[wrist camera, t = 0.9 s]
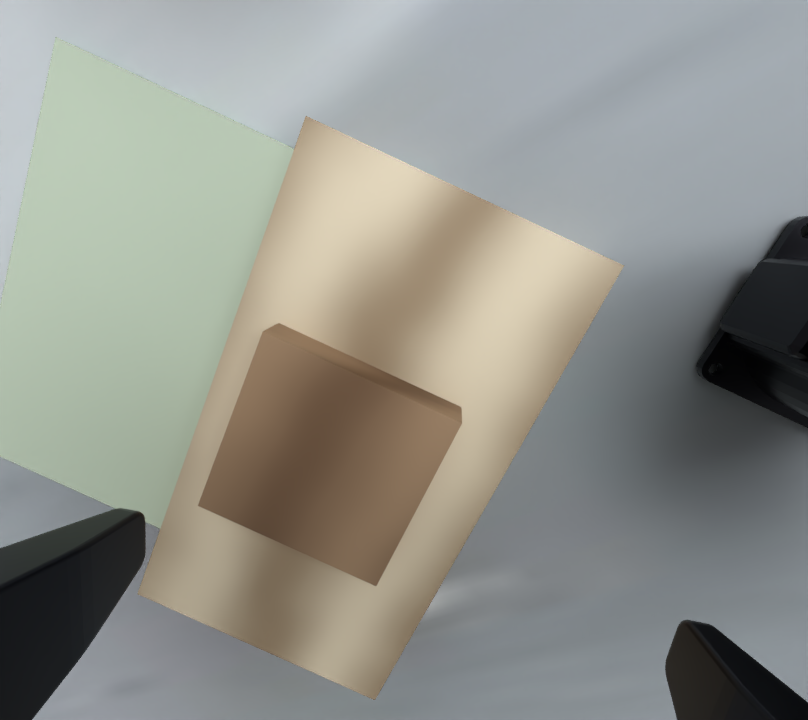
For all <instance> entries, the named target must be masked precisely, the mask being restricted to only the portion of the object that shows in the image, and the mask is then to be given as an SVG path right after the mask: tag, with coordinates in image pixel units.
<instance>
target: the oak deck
mask: <svg viewBox="0 0 808 720" xmlns="http://www.w3.org/2000/svg"><path fill="white" fill-rule="evenodd" d="M623 267H624V265H621V264H619V263H617V262H615V261H613V260H611V259H609V258H607V257H604V256H602V255H600V254H598V253H596V252H594V251H592V250H590V249H587V248H585V247H583V246H581V245H579V244H577V243H575V242H573V241H571V240H568V239H566V238H564V237H562V236H560V235H558V234H556V233H554V232H551V231H549V230H547V229H545V228H543V227H541V226H539V225H537V224H534V223H532V222H530V221H528V220H526V219H524V218H522V217H520V216H517V215H515V214H513V213H511V212H509V211H507V210H505V209H503V208H500V207H498V206H496V205H494V204H492V203H490V202H488V201H486V200H483V199H481V198H479V197H477V196H475V195H473V194H471V193H469V192H466V191H464V190H462V189H460V188H458V187H456V186H454V185H452V184H449V183H447V182H445V181H443V180H441V179H439V178H437V177H435V176H432V175H430V174H428V173H426V172H424V171H422V170H420V169H418V168H415V167H413V166H411V165H409V164H407V163H405V162H403V161H401V160H398V159H396V158H394V157H392V156H390V155H388V154H386V153H384V152H381V151H379V150H377V149H375V148H373V147H371V146H369V145H367V144H364V143H362V142H360V141H358V140H356V139H354V138H352V137H350V136H347V135H345V134H343V133H341V132H339V131H337V130H335V129H333V128H330V127H328V126H326V125H324V124H322V123H320V122H318V121H316V120H313V119H311V118H309V117H307V116H306V117H305V120H304V123H303V126H302V128H301V131H300V134H299V137H298V140H297V143H296V146H295V148H294V151H293V154H292V157H291V160H290V163H289V165H288V168H287V171H286V174H285V177H284V180H283V182H282V185H281V188H280V191H279V194H278V197H277V199H276V202H275V205H274V208H273V211H272V214H271V216H270V219H269V222H268V225H267V228H266V231H265V233H264V236H263V239H262V242H261V245H260V248H259V250H258V253H257V256H256V259H255V262H254V265H253V268H252V270H251V273H250V276H249V279H248V282H247V285H246V287H245V290H244V293H243V296H242V299H241V302H240V304H239V307H238V310H237V313H236V316H235V319H234V321H233V324H232V327H231V330H230V333H229V336H228V338H227V341H226V344H225V347H224V350H223V353H222V355H221V358H220V361H219V364H218V367H217V370H216V372H215V375H214V378H213V381H212V384H211V387H210V390H209V392H208V395H207V398H206V401H205V404H204V407H203V409H202V412H201V415H200V418H199V421H198V424H197V426H196V429H195V432H194V435H193V438H192V441H191V443H190V446H189V449H188V452H187V455H186V458H185V460H184V463H183V466H182V469H181V472H180V475H179V477H178V480H177V483H176V486H175V489H174V492H173V494H172V497H171V500H170V503H169V506H168V509H167V512H166V514H165V517H164V520H163V523H162V526H161V529H160V531H159V534H158V537H157V540H156V543H155V546H154V548H153V551H152V554H151V557H150V560H149V563H148V565H147V568H146V571H145V574H144V577H143V580H142V582H141V585H140V588H139V591H138V595H141V596H143V597H145V598H147V599H150V600H152V601H154V602H156V603H159V604H161V605H163V606H165V607H168V608H170V609H172V610H174V611H176V612H179V613H181V614H183V615H185V616H188V617H190V618H192V619H194V620H197V621H199V622H201V623H203V624H206V625H208V626H210V627H212V628H214V629H217V630H219V631H221V632H223V633H226V634H228V635H230V636H232V637H235V638H237V639H239V640H241V641H244V642H246V643H248V644H250V645H253V646H255V647H257V648H259V649H261V650H264V651H266V652H268V653H270V654H273V655H275V656H277V657H279V658H282V659H284V660H286V661H288V662H291V663H293V664H295V665H297V666H300V667H302V668H304V669H306V670H308V671H311V672H313V673H315V674H317V675H320V676H322V677H324V678H326V679H329V680H331V681H333V682H335V683H338V684H340V685H342V686H344V687H347V688H349V689H351V690H353V691H355V692H358V693H360V694H362V695H364V696H367V697H369V698H371V699H373V700H375V699H376V697H377V696H378V694H379V692H380V690H381V689H382V687H383V685H384V683H385V682H386V680H387V678H388V676H389V675H390V673H391V671H392V669H393V668H394V666H395V664H396V662H397V661H398V659H399V657H400V655H401V654H402V652H403V650H404V648H405V647H406V645H407V643H408V642H409V640H410V638H411V636H412V635H413V633H414V631H415V629H416V628H417V626H418V624H419V622H420V621H421V619H422V617H423V615H424V614H425V612H426V610H427V608H428V607H429V605H430V603H431V601H432V600H433V598H434V596H435V594H436V593H437V591H438V589H439V587H440V586H441V584H442V582H443V580H444V579H445V577H446V575H447V574H448V572H449V570H450V568H451V567H452V565H453V563H454V561H455V560H456V558H457V556H458V554H459V553H460V551H461V549H462V547H463V546H464V544H465V542H466V540H467V539H468V537H469V535H470V533H471V532H472V530H473V528H474V526H475V525H476V523H477V521H478V519H479V518H480V516H481V514H482V513H483V511H484V509H485V507H486V506H487V504H488V502H489V500H490V499H491V497H492V495H493V493H494V492H495V490H496V488H497V486H498V485H499V483H500V481H501V479H502V478H503V476H504V474H505V472H506V471H507V469H508V467H509V465H510V464H511V462H512V460H513V458H514V457H515V455H516V453H517V451H518V450H519V448H520V446H521V445H522V443H523V441H524V439H525V438H526V436H527V434H528V432H529V431H530V429H531V427H532V425H533V424H534V422H535V420H536V418H537V417H538V415H539V413H540V411H541V410H542V408H543V406H544V404H545V403H546V401H547V399H548V397H549V396H550V394H551V392H552V390H553V389H554V387H555V385H556V384H557V382H558V380H559V378H560V377H561V375H562V373H563V371H564V370H565V368H566V366H567V364H568V363H569V361H570V359H571V357H572V356H573V354H574V352H575V350H576V349H577V347H578V345H579V343H580V342H581V340H582V338H583V336H584V335H585V333H586V331H587V329H588V328H589V326H590V324H591V322H592V321H593V319H594V317H595V316H596V314H597V312H598V310H599V309H600V307H601V305H602V303H603V302H604V300H605V298H606V296H607V295H608V293H609V291H610V289H611V288H612V286H613V284H614V282H615V281H616V279H617V277H618V275H619V274H620V272H621V270H622V268H623ZM278 323H280V324H282V325H285V326H287V327H289V328H291V329H293V330H295V331H298V332H300V333H302V334H304V335H306V336H308V337H311V338H313V339H315V340H317V341H319V342H321V343H324V344H326V345H328V346H330V347H332V348H334V349H337V350H339V351H341V352H343V353H345V354H347V355H350V356H352V357H354V358H356V359H358V360H360V361H363V362H365V363H367V364H369V365H371V366H373V367H376V368H378V369H380V370H382V371H384V372H386V373H389V374H391V375H393V376H395V377H397V378H399V379H402V380H404V381H406V382H408V383H410V384H412V385H415V386H417V387H419V388H421V389H423V390H425V391H428V392H430V393H432V394H434V395H436V396H438V397H441V398H443V399H445V400H447V401H449V402H451V403H454V404H456V405H458V406H460V407H461V409H462V425H461V426H460V428H459V430H458V432H457V434H456V436H455V438H454V440H453V442H452V444H451V445H450V447H449V449H448V451H447V453H446V455H445V457H444V459H443V461H442V463H441V464H440V466H439V468H438V470H437V472H436V474H435V476H434V478H433V480H432V482H431V483H430V485H429V487H428V489H427V491H426V493H425V495H424V497H423V499H422V501H421V502H420V504H419V506H418V508H417V510H416V512H415V514H414V516H413V518H412V520H411V521H410V523H409V525H408V527H407V529H406V531H405V533H404V535H403V537H402V538H401V540H400V542H399V544H398V546H397V548H396V550H395V552H394V554H393V556H392V557H391V559H390V561H389V563H388V565H387V567H386V569H385V571H384V573H383V575H382V576H381V578H380V580H379V582H378V584H377V586H374V585H372V584H370V583H367V582H365V581H363V580H361V579H359V578H356V577H354V576H352V575H350V574H348V573H345V572H343V571H341V570H339V569H337V568H334V567H332V566H330V565H328V564H325V563H323V562H321V561H319V560H317V559H314V558H312V557H310V556H308V555H306V554H303V553H301V552H299V551H297V550H294V549H292V548H290V547H288V546H286V545H283V544H281V543H279V542H277V541H275V540H272V539H270V538H268V537H266V536H263V535H261V534H259V533H257V532H255V531H252V530H250V529H248V528H246V527H244V526H241V525H239V524H237V523H235V522H232V521H230V520H228V519H226V518H224V517H221V516H219V515H217V514H215V513H213V512H210V511H208V510H206V509H204V508H202V507H199V506H198V504H199V501H200V498H201V496H202V493H203V490H204V488H205V485H206V482H207V480H208V477H209V474H210V471H211V469H212V466H213V463H214V461H215V458H216V455H217V453H218V450H219V447H220V445H221V442H222V439H223V437H224V434H225V431H226V429H227V426H228V423H229V420H230V418H231V415H232V412H233V410H234V407H235V404H236V402H237V399H238V396H239V394H240V391H241V388H242V386H243V383H244V380H245V378H246V375H247V372H248V370H249V367H250V364H251V361H252V359H253V356H254V353H255V351H256V348H257V345H258V343H259V340H260V337H261V335H262V332H263V331H264V330H266V329H268V328H270V327H272V326H274V325H276V324H278Z"/></svg>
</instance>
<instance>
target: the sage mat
mask: <svg viewBox="0 0 808 720" xmlns="http://www.w3.org/2000/svg"><path fill="white" fill-rule="evenodd" d="M293 151H294V149H293V148H291V147H289V146H287V145H285V144H283V143H281V142H278V141H276V140H274V139H272V138H270V137H268V136H266V135H264V134H261V133H259V132H257V131H255V130H253V129H251V128H249V127H246V126H244V125H242V124H240V123H238V122H236V121H234V120H232V119H229V118H227V117H225V116H223V115H221V114H219V113H217V112H214V111H212V110H210V109H208V108H206V107H204V106H202V105H200V104H197V103H195V102H193V101H191V100H189V99H187V98H185V97H183V96H180V95H178V94H176V93H174V92H172V91H170V90H168V89H165V88H163V87H161V86H159V85H157V84H155V83H153V82H151V81H148V80H146V79H144V78H142V77H140V76H138V75H136V74H133V73H131V72H129V71H127V70H125V69H123V68H121V67H119V66H116V65H114V64H112V63H110V62H108V61H106V60H104V59H102V58H99V57H97V56H95V55H93V54H91V53H89V52H87V51H84V50H82V49H80V48H78V47H76V46H74V45H72V44H70V43H67V42H65V41H63V40H61V39H59V38H57V37H56V38H55V42H54V47H53V52H52V57H51V62H50V67H49V71H48V76H47V81H46V86H45V91H44V96H43V101H42V105H41V110H40V115H39V120H38V125H37V130H36V134H35V139H34V144H33V149H32V154H31V159H30V163H29V168H28V173H27V178H26V183H25V188H24V193H23V197H22V202H21V207H20V212H19V217H18V222H17V226H16V231H15V236H14V241H13V246H12V251H11V255H10V260H9V265H8V270H7V275H6V280H5V285H4V289H3V294H2V299H1V304H0V457H2V458H4V459H6V460H9V461H11V462H13V463H15V464H17V465H20V466H22V467H24V468H26V469H29V470H31V471H33V472H35V473H37V474H40V475H42V476H44V477H46V478H49V479H51V480H53V481H55V482H57V483H60V484H62V485H64V486H66V487H69V488H71V489H73V490H75V491H77V492H80V493H82V494H84V495H86V496H89V497H91V498H93V499H95V500H97V501H100V502H102V503H104V504H106V505H109V506H111V507H113V508H115V509H117V508H125V509H130V510H135V511H140V512H141V513H143V515H144V517H145V522H146V523H149V524H151V525H153V526H155V527H157V528H160V529H161V526H162V523H163V520H164V517H165V514H166V512H167V509H168V506H169V503H170V500H171V497H172V494H173V492H174V489H175V486H176V483H177V480H178V477H179V475H180V472H181V469H182V466H183V463H184V460H185V458H186V455H187V452H188V449H189V446H190V443H191V441H192V438H193V435H194V432H195V429H196V426H197V424H198V421H199V418H200V415H201V412H202V409H203V407H204V404H205V401H206V398H207V395H208V392H209V390H210V387H211V384H212V381H213V378H214V375H215V372H216V370H217V367H218V364H219V361H220V358H221V355H222V353H223V350H224V347H225V344H226V341H227V338H228V336H229V333H230V330H231V327H232V324H233V321H234V319H235V316H236V313H237V310H238V307H239V304H240V302H241V299H242V296H243V293H244V290H245V287H246V285H247V282H248V279H249V276H250V273H251V270H252V268H253V265H254V262H255V259H256V256H257V253H258V250H259V248H260V245H261V242H262V239H263V236H264V233H265V231H266V228H267V225H268V222H269V219H270V216H271V214H272V211H273V208H274V205H275V202H276V199H277V197H278V194H279V191H280V188H281V185H282V182H283V180H284V177H285V174H286V171H287V168H288V165H289V163H290V160H291V157H292V154H293Z"/></svg>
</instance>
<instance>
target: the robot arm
mask: <svg viewBox="0 0 808 720" xmlns="http://www.w3.org/2000/svg"><path fill="white" fill-rule="evenodd" d="M804 225H807V226H808V216H803V217H798V218H796V219H794V220H792V221H791V222H790V223H789V224H788V226H787V227H786V229H785V230H784V232H783V233H782V235H781V236H780V238H779V240H778V241H777V243H776V244H775V246H774V247H773V249H772V250H771V252H770V253H769V255H768V256H767V258H766V259H765V260H763V261H761V262H759V263H758V264H757V266H756V268H755V269H754V271H753V272H752V274H751V275H750V277H749V278H748V280H747V281H746V283H745V284H744V286H743V287H742V289H741V291H740V292H739V294H738V295H737V297H736V298H735V300H734V301H733V303H732V304H731V306H730V307H729V309H728V310H727V312H726V314H725V315H724V317H723V318H722V320H721V322H720V323H721V328H720V330H719V331H718V333H717V334H716V336H715V337H714V339H713V340H712V342H711V343H710V345H709V346H708V348H707V349H706V351H705V352H704V354H703V355H702V357H701V359H700V360H699V362H698V364H697V372H698V374H699V376H701V377H702V378H704V379H705V380H707V381H709V382H711V383H713V384H715V385H717V386H720V387H722V388H724V389H726V390H728V391H730V392H732V393H735V394H737V395H739V396H741V397H743V398H745V399H747V400H750V401H752V402H754V403H756V404H758V405H760V406H762V407H765V408H767V409H769V410H771V411H773V412H775V413H777V414H779V415H782V416H784V417H786V418H788V419H790V420H792V421H794V422H797V423H799V424H801V425H803V426H805V427H807V428H808V234H807V235H806V236H805V237H802V236H801V229H802V227H803V226H804ZM714 363H717V366H718V367H717V370H716V371H714V372H713V373H709V367H710V366H711V365H712V364H714ZM144 557H145V517H144V515H143V513H141V512H140V511H135V510H130V509H125V508H117V509H114V510H111V511H108V512H105V513H102V514H99V515H96V516H93V517H90V518H87V519H84V520H81V521H79V522H76V523H73V524H70V525H67V526H64V527H61V528H58V529H55V530H52V531H49V532H46V533H44V534H41V535H38V536H35V537H32V538H29V539H26V540H23V541H20V542H17V543H14V544H11V545H8V546H6V547H3V548H0V720H32V719H33V718H34V717H35V715H36V714H37V713H38V711H39V710H40V709H41V708H42V706H43V705H44V704H45V703H46V701H47V700H48V699H49V697H50V696H51V695H52V694H53V692H54V691H55V690H56V689H57V687H58V686H59V685H60V683H61V682H62V681H63V680H64V678H65V677H66V676H67V675H68V673H69V672H70V671H71V669H72V668H73V667H74V666H75V664H76V663H77V662H78V660H79V659H80V658H81V656H82V655H83V654H84V652H85V651H86V650H87V648H88V647H89V645H90V644H91V642H92V641H93V639H94V638H95V636H96V635H97V633H98V632H99V630H100V629H101V627H102V626H103V624H104V623H105V621H106V620H107V618H108V617H109V615H110V613H111V612H112V610H113V609H114V607H115V606H116V604H117V603H118V601H119V600H120V598H121V597H122V595H123V594H124V592H125V591H126V589H127V587H128V586H129V584H130V583H131V581H132V580H133V578H134V577H135V575H136V574H137V572H138V571H139V569H140V567H141V565H142V563H143V561H144ZM665 670H666V677H667V681H668V685H669V689H670V693H671V697H672V701H673V705H674V709H675V713H676V717H677V720H808V702H806V701H805V700H804V699H803V698H802V697H800V696H799V695H798V694H797V693H795V692H794V691H793V690H792V689H790V688H789V687H788V686H787V685H785V684H784V683H783V682H782V681H780V680H779V679H778V678H777V677H776V676H774V675H773V674H772V673H771V672H769V671H768V670H767V669H766V668H764V667H763V666H762V665H761V664H759V663H758V662H757V661H756V660H754V659H753V658H752V657H751V656H750V655H748V654H747V653H746V652H745V651H743V650H742V649H741V648H740V647H738V646H737V645H736V644H735V643H733V642H732V641H731V640H730V639H728V638H727V637H726V636H725V635H723V634H722V633H721V632H720V631H719V630H717V629H716V628H715V627H713V626H712V625H710V624H706V623H701V622H696V621H691V620H684V621H682V622H681V623H680V624H679V626H678V628H677V630H676V633H675V636H674V639H673V642H672V644H671V647H670V650H669V653H668V656H667V659H666V665H665Z"/></svg>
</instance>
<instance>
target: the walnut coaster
mask: <svg viewBox="0 0 808 720" xmlns="http://www.w3.org/2000/svg"><path fill="white" fill-rule="evenodd" d="M461 425H462V409H461V407H460V406H458V405H456V404H454V403H451V402H449V401H447V400H445V399H443V398H441V397H438V396H436V395H434V394H432V393H430V392H428V391H425V390H423V389H421V388H419V387H417V386H415V385H412V384H410V383H408V382H406V381H404V380H402V379H399V378H397V377H395V376H393V375H391V374H389V373H386V372H384V371H382V370H380V369H378V368H376V367H373V366H371V365H369V364H367V363H365V362H363V361H360V360H358V359H356V358H354V357H352V356H350V355H347V354H345V353H343V352H341V351H339V350H337V349H334V348H332V347H330V346H328V345H326V344H324V343H321V342H319V341H317V340H315V339H313V338H311V337H308V336H306V335H304V334H302V333H300V332H298V331H295V330H293V329H291V328H289V327H287V326H285V325H282V324H280V323H278V324H276V325H274V326H272V327H270V328H268V329H266V330H264V331H263V332H262V335H261V337H260V340H259V343H258V345H257V348H256V351H255V353H254V356H253V359H252V361H251V364H250V367H249V370H248V372H247V375H246V378H245V380H244V383H243V386H242V388H241V391H240V394H239V396H238V399H237V402H236V404H235V407H234V410H233V412H232V415H231V418H230V420H229V423H228V426H227V429H226V431H225V434H224V437H223V439H222V442H221V445H220V447H219V450H218V453H217V455H216V458H215V461H214V463H213V466H212V469H211V471H210V474H209V477H208V480H207V482H206V485H205V488H204V490H203V493H202V496H201V498H200V501H199V504H198V506H199V507H202V508H204V509H206V510H208V511H210V512H213V513H215V514H217V515H219V516H221V517H224V518H226V519H228V520H230V521H232V522H235V523H237V524H239V525H241V526H244V527H246V528H248V529H250V530H252V531H255V532H257V533H259V534H261V535H263V536H266V537H268V538H270V539H272V540H275V541H277V542H279V543H281V544H283V545H286V546H288V547H290V548H292V549H294V550H297V551H299V552H301V553H303V554H306V555H308V556H310V557H312V558H314V559H317V560H319V561H321V562H323V563H325V564H328V565H330V566H332V567H334V568H337V569H339V570H341V571H343V572H345V573H348V574H350V575H352V576H354V577H356V578H359V579H361V580H363V581H365V582H367V583H370V584H372V585H374V586H377V584H378V582H379V580H380V578H381V576H382V575H383V573H384V571H385V569H386V567H387V565H388V563H389V561H390V559H391V557H392V556H393V554H394V552H395V550H396V548H397V546H398V544H399V542H400V540H401V538H402V537H403V535H404V533H405V531H406V529H407V527H408V525H409V523H410V521H411V520H412V518H413V516H414V514H415V512H416V510H417V508H418V506H419V504H420V502H421V501H422V499H423V497H424V495H425V493H426V491H427V489H428V487H429V485H430V483H431V482H432V480H433V478H434V476H435V474H436V472H437V470H438V468H439V466H440V464H441V463H442V461H443V459H444V457H445V455H446V453H447V451H448V449H449V447H450V445H451V444H452V442H453V440H454V438H455V436H456V434H457V432H458V430H459V428H460V426H461Z"/></svg>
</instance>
